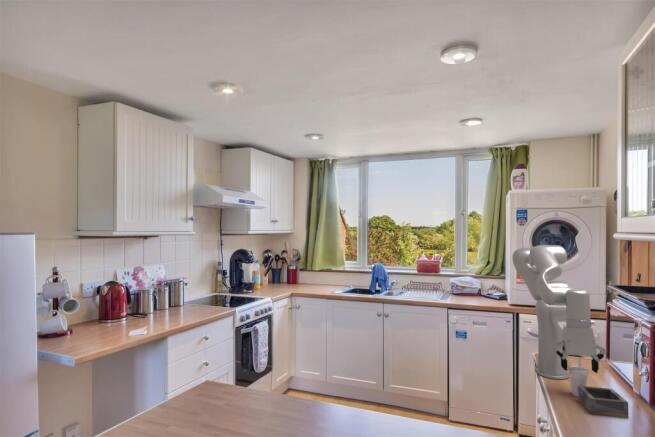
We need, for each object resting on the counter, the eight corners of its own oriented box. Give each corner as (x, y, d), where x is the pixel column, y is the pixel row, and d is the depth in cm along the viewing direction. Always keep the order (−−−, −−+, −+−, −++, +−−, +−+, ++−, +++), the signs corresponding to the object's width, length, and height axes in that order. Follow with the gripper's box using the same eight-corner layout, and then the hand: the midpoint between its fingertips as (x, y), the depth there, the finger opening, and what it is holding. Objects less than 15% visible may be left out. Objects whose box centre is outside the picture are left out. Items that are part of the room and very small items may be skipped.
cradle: (578, 399, 136) (578, 385, 136) (612, 403, 133) (612, 388, 133) (591, 414, 125) (591, 398, 125) (628, 418, 123) (628, 402, 123)
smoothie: (592, 399, 136) (592, 360, 136) (572, 398, 137) (572, 359, 137) (584, 392, 142) (583, 354, 142) (565, 390, 143) (565, 353, 143)
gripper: (600, 322, 141) (601, 369, 140) (548, 320, 145) (550, 365, 144) (610, 327, 134) (611, 376, 133) (555, 324, 138) (556, 372, 137)
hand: (579, 370), depth 139 cm, fingers open, 9 cm apart
